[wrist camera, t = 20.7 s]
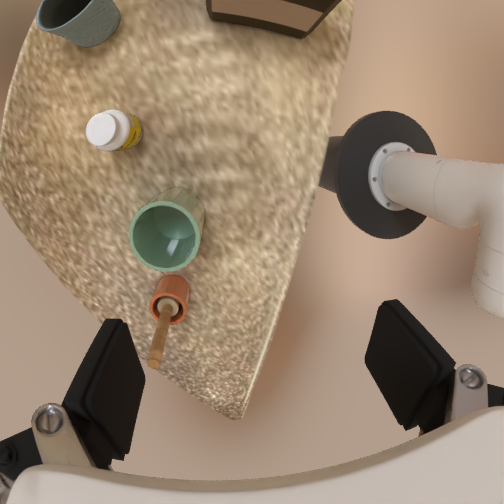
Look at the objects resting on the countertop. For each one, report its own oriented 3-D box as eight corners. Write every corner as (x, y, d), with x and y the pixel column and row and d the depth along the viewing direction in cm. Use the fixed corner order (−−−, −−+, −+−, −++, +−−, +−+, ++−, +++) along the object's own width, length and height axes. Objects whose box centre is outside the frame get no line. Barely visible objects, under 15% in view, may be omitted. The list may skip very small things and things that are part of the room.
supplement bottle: (121, 157, 35) (93, 161, 26) (104, 129, 33) (73, 126, 24) (150, 135, 34) (128, 132, 25) (132, 107, 32) (107, 96, 23)
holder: (184, 271, 43) (180, 290, 37) (193, 301, 45) (191, 322, 39) (152, 277, 42) (144, 296, 37) (162, 306, 44) (156, 327, 39)
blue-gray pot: (90, 2, 23) (61, -26, 12) (137, 5, 25) (115, -31, 14) (62, 50, 26) (24, 31, 15) (107, 55, 28) (73, 30, 17)
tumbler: (198, 181, 38) (190, 193, 28) (210, 234, 41) (207, 264, 31) (145, 194, 37) (120, 211, 27) (158, 245, 41) (141, 277, 30)
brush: (180, 282, 43) (164, 354, 27) (182, 299, 44) (169, 374, 28) (161, 283, 42) (136, 353, 27) (164, 300, 43) (143, 373, 28)
